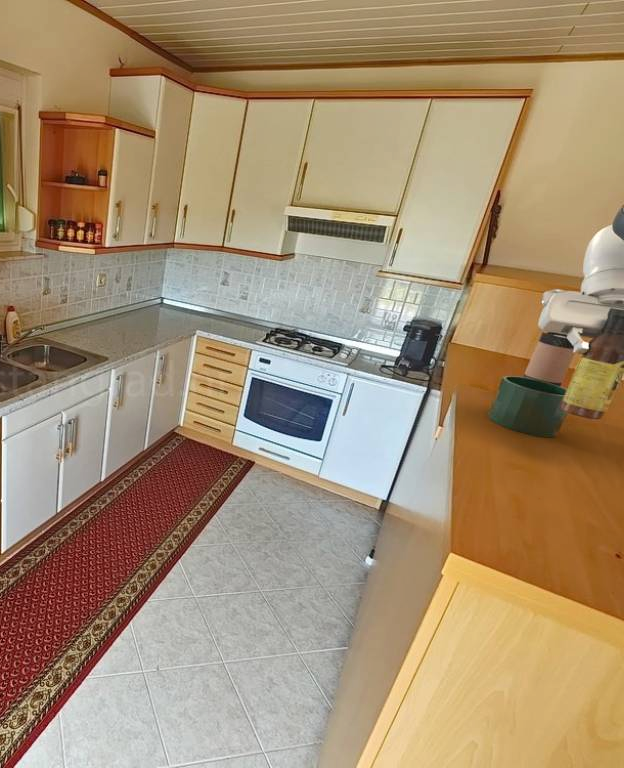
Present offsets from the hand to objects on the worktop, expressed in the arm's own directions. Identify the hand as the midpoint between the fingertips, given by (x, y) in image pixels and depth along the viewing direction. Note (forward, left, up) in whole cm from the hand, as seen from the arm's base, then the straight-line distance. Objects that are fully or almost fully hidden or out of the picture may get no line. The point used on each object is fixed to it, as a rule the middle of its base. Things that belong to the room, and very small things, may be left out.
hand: (608, 356), depth 87 cm
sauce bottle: (0, -1, -12) cm, 12 cm away
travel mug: (-4, -43, -23) cm, 48 cm away
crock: (+1, -25, -22) cm, 33 cm away
